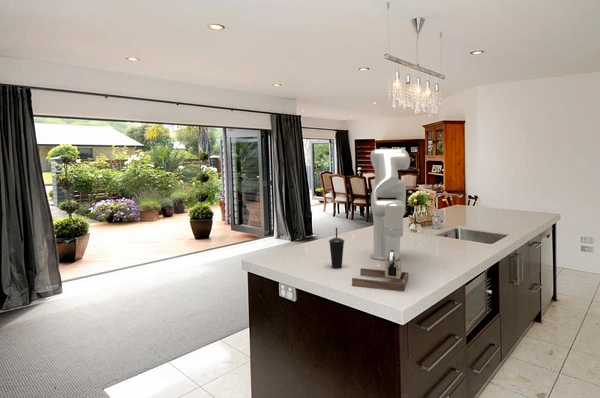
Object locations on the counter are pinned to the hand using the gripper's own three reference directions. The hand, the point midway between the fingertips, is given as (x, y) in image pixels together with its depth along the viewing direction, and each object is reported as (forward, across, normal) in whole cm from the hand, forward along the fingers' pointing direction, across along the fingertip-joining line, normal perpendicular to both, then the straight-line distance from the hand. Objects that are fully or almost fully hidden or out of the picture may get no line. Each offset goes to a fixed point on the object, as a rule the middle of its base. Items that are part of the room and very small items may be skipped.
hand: (393, 272), depth 155 cm
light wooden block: (+1, 0, 0) cm, 1 cm away
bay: (+5, +1, -6) cm, 7 cm away
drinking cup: (+5, -15, -30) cm, 34 cm away
